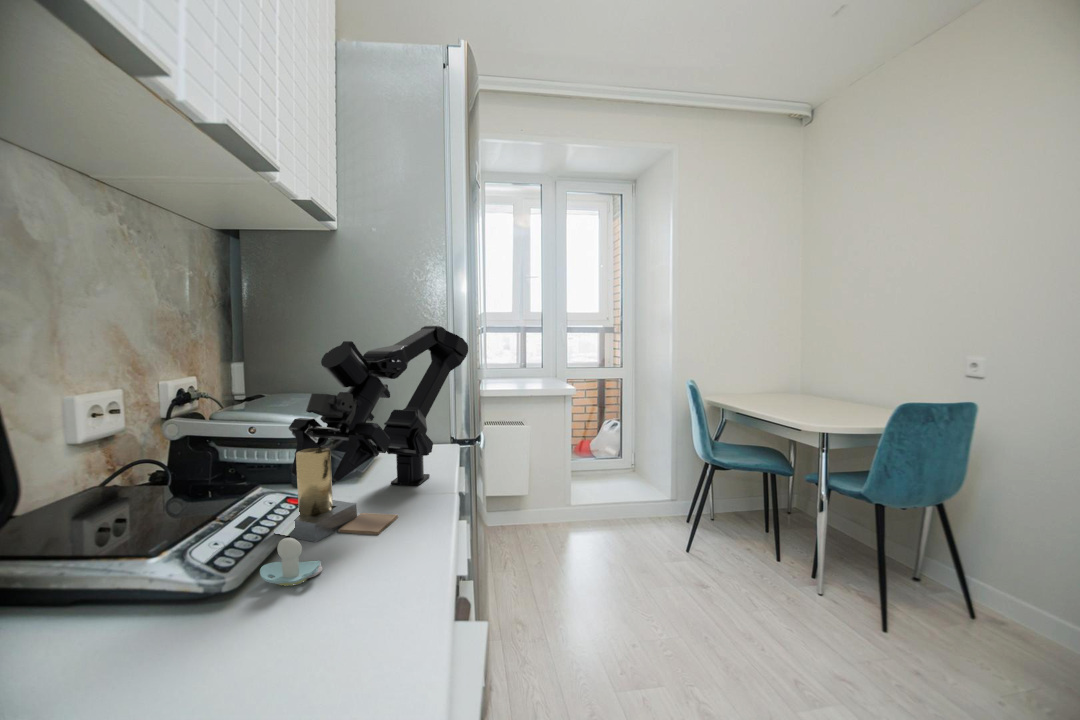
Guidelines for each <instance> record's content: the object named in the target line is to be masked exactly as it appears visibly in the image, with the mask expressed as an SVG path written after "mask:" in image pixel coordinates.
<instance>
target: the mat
mask: <svg viewBox="0 0 1080 720" xmlns="http://www.w3.org/2000/svg"><path fill="white" fill-rule="evenodd" d="M398 518H399V515H398V514H389V513H375V512H373V513H372V512H360V513H359V514H357V518H355V519H353V520H351V521H349V522H348V523H347V524H345V525H344V526H343V527H341V528H340V529H339V530H338V533H342V534H343V533H344V534H347V533H348V534H361V535H362V534H363V535H377V536H378V535H380V534H381V533H382V532H383V531H384V530H386V528H388V527H389V526H390V525H391V524H392V523H393V522H394V521H396V520H397V519H398Z"/></svg>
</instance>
